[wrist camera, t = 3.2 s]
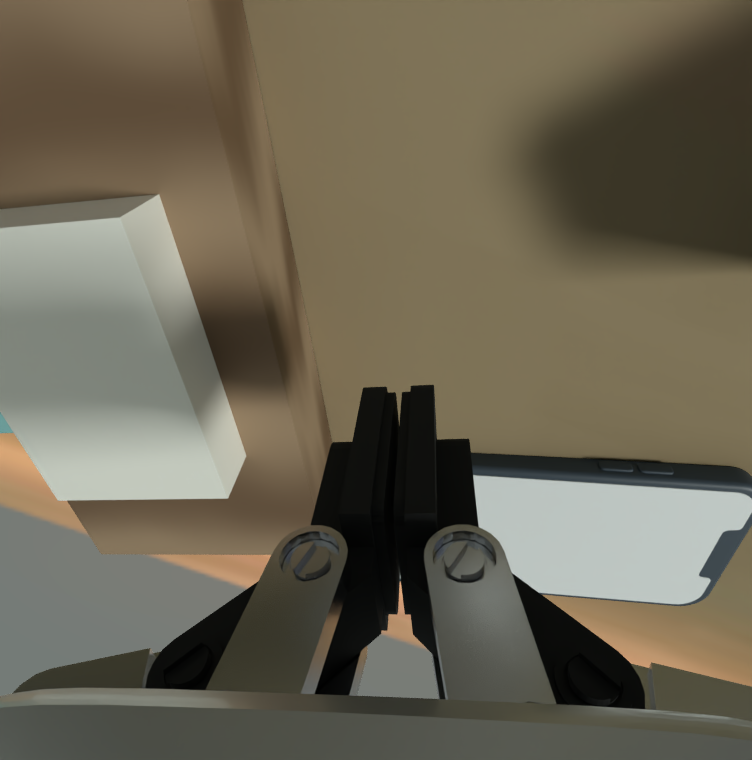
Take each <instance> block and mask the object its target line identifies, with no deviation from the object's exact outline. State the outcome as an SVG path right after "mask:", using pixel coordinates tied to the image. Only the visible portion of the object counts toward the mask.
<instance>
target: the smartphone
mask: <svg viewBox="0 0 752 760" xmlns="http://www.w3.org/2000/svg"><path fill="white" fill-rule="evenodd" d="M471 460H472V470H473V479H474V488H475V498H476V507H477V516H478V525H479V527H480V528H482V529H484V530H486V531H487V532H489V533H491V534H492V535H493V536H494V537H495V538H496V539H497V540H498V541H499V542H500V544H501V546H502V548H503V550H504V552H505V555H506V558H507V561H508V563H509V566H510V569H511V572H512V573H513V574H514V575H516V576H517V577H518V578H520V579H521V580H522V581H524V582H525V583H526V584H528V585H529V586H530V587H532V588H533V589H534V590H536V591H537V592H538V593H540V594H543V595H555V596H566V597H578V598H590V599H601V600H613V601H625V602H637V603H648V604H660V605H672V606H686V605H691V604H695V603H697V602H700V601H701V600H703V599H705V598H706V597H707V596H708V595H709V594H710V592H711V591H712V589H713V587H714V586H715V584H716V582H717V581H718V579H719V578H720V576H721V574H722V573H723V571H724V569H725V568H726V566H727V565H728V563H729V561H730V560H731V558H732V556H733V555H734V553H735V552H736V550H737V548H738V547H739V545H740V543H741V542H742V540H743V538H744V537H745V535H746V534H747V532H748V530H749V529H750V527H751V525H752V477H751V476H750V475H749V474H748V473H747V472H746V471H744V470H742V469H739V468H736V467H728V466H711V465H694V464H676V463H657V462H638V461H619V460H600V459H581V458H562V457H542V456H522V455H502V454H481V453H471ZM400 581H401V577H400Z"/></svg>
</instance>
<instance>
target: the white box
mask: <svg viewBox="0 0 752 760" xmlns="http://www.w3.org/2000/svg"><path fill="white" fill-rule="evenodd" d="M0 412H1V414H2V415H3V417H4V418H5V420H6V422H7V423H8V425H9V426H10V428H11V429H12V431H13V432H14V434H15V435H16V437H17V438H18V440H19V441H20V443H21V445H22V446H23V448H24V449H25V451H26V452H27V454H28V455H29V457H30V458H31V460H32V461H33V463H34V464H35V466H36V467H37V469H38V471H39V472H40V474H41V475H42V477H43V478H44V480H45V481H46V483H47V484H48V486H49V487H50V489H51V490H52V492H53V494H54V495H55V497H56V498H57V500H58V501H67V500H152V499H228V498H229V495H230V493H231V491H232V488H233V486H234V484H235V481H236V479H237V477H238V474H239V472H240V470H241V467H242V465H243V463H244V460H245V458H246V453H245V450H244V447H243V444H242V441H241V438H240V435H239V432H238V429H237V426H236V423H235V420H234V417H233V414H232V411H231V408H230V405H229V402H228V399H227V396H226V393H225V390H224V387H223V384H222V381H221V378H220V375H219V372H218V369H217V366H216V363H215V360H214V357H213V354H212V351H211V348H210V345H209V342H208V339H207V336H206V333H205V330H204V327H203V324H202V321H201V318H200V315H199V312H198V309H197V306H196V303H195V300H194V297H193V294H192V291H191V288H190V285H189V282H188V279H187V276H186V273H185V270H184V267H183V264H182V261H181V259H180V256H179V253H178V250H177V247H176V244H175V241H174V238H173V235H172V232H171V229H170V226H169V223H168V220H167V217H166V214H165V211H164V208H163V205H162V202H161V199H160V196H159V194H155V195H145V196H134V197H124V198H113V199H103V200H92V201H81V202H71V203H60V204H50V205H39V206H29V207H18V208H8V209H0Z"/></svg>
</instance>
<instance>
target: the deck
mask: <svg viewBox="0 0 752 760" xmlns="http://www.w3.org/2000/svg"><path fill="white" fill-rule="evenodd" d="M155 194H159V196H160V199H161V202H162V205H163V208H164V211H165V214H166V217H167V220H168V223H169V226H170V229H171V232H172V235H173V238H174V241H175V244H176V247H177V250H178V253H179V256H180V259H181V261H182V264H183V267H184V270H185V273H186V276H187V279H188V282H189V285H190V288H191V291H192V294H193V297H194V300H195V303H196V306H197V309H198V312H199V315H200V318H201V321H202V324H203V327H204V330H205V333H206V336H207V339H208V342H209V345H210V348H211V351H212V354H213V357H214V360H215V363H216V366H217V369H218V372H219V375H220V378H221V381H222V384H223V387H224V390H225V393H226V396H227V399H228V402H229V405H230V408H231V411H232V414H233V417H234V420H235V423H236V426H237V429H238V432H239V435H240V438H241V441H242V444H243V447H244V450H245V453H246V458H245V460H244V463H243V465H242V467H241V470H240V472H239V474H238V477H237V479H236V481H235V484H234V486H233V488H232V491H231V493H230V495H229V498H228V499H152V500H67V501H68V503H69V504H70V506H71V508H72V509H73V511H74V512H75V514H76V515H77V517H78V518H79V520H80V522H81V523H82V525H83V526H84V528H85V529H86V531H87V533H88V534H89V536H90V537H91V539H92V540H93V542H94V543H95V545H96V547H97V548H98V550H99V551H100V553H101V554H212V555H272V553H273V551H274V549H275V548H276V546H277V545H278V544H279V542H280V541H281V540H282V539H283V538H284V537H286V536H287V535H288V534H289V533H291V532H293V531H295V530H297V529H299V528H302V527H306V526H310V525H311V521H312V517H313V513H314V509H315V505H316V501H317V497H318V493H319V489H320V485H321V481H322V477H323V473H324V469H325V465H326V461H327V457H328V453H329V449H330V446H331V444H332V440H331V435H330V430H329V425H328V420H327V415H326V410H325V405H324V400H323V396H322V391H321V386H320V381H319V376H318V371H317V366H316V361H315V356H314V351H313V346H312V342H311V337H310V332H309V327H308V322H307V317H306V312H305V307H304V302H303V297H302V292H301V288H300V283H299V278H298V273H297V268H296V263H295V258H294V253H293V248H292V243H291V238H290V233H289V229H288V224H287V219H286V214H285V209H284V204H283V199H282V194H281V189H280V184H279V179H278V175H277V170H276V165H275V160H274V155H273V150H272V145H271V140H270V135H269V130H268V125H267V120H266V116H265V111H264V106H263V101H262V96H261V91H260V86H259V81H258V76H257V71H256V66H255V62H254V57H253V52H252V47H251V42H250V37H249V32H248V27H247V22H246V17H245V12H244V8H243V3H242V0H0V209H8V208H18V207H29V206H39V205H50V204H60V203H71V202H81V201H92V200H103V199H113V198H124V197H134V196H145V195H155Z"/></svg>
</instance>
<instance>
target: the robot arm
mask: <svg viewBox="0 0 752 760" xmlns="http://www.w3.org/2000/svg"><path fill="white" fill-rule="evenodd" d="M400 577H401V585H402V593H403V602H404V610H405V614H411V620H412V629H413V635H414V636H415V637H416V638H417V639H418V640H419V641H420V642H421V643H422V644H423V645H424V646H425V647H426V648H427V649H428V650H429V651H430V652H431V653H432V662H433V668H434V675H435V681H436V687H437V694H438V699H423V698H421V699H420V698H398V697H397V698H396V697H372V696H357V694H358V690H359V686H360V682H361V678H362V674H363V670H364V666H365V662H366V658H367V645H368V644H370V643H371V642H372V641H373V640H374V639H375V638H376V637H378V636H379V635H380V634H381V630H387V628H388V614H397V613H398V601H399V583H400ZM0 760H752V687H750V686H746V685H742V684H738V683H734V682H729V681H725V680H721V679H717V678H713V677H709V676H705V675H701V674H697V673H692V672H688V671H684V670H680V669H676V668H672V667H668V666H664V665H659V664H655V663H651V664H650V667H649V668H646V667H642V666H638V665H634V664H630V662H629V661H628V660H626V659H625V658H624V657H623V656H622V655H621V654H620V653H619V652H618V651H617V650H615V649H614V648H613V647H611V646H610V645H609V644H607V643H606V642H605V641H603V640H602V639H601V638H599V637H598V636H596V635H595V634H594V633H592V632H591V631H590V630H588V629H587V628H586V627H584V626H583V625H582V624H580V623H579V622H578V621H576V620H575V619H574V618H572V617H571V616H569V615H568V614H567V613H565V612H564V611H563V610H561V609H560V608H559V607H557V606H556V605H555V604H553V603H552V602H551V601H549V600H548V599H547V598H545V597H544V596H543V595H541V594H540V593H538V592H537V591H536V590H534V589H533V588H532V587H530V586H529V585H528V584H526V583H525V582H524V581H522V580H521V579H520V578H518V577H517V576H516V575H514V574H513V573H512V572H511V569H510V566H509V563H508V561H507V558H506V555H505V552H504V550H503V548H502V546H501V544H500V542H499V541H498V540H497V539H496V538H495V537H494V536H493V535H492V534H491V533H489V532H487V531H486V530H484V529H482V528H480V527H479V525H478V516H477V507H476V498H475V488H474V479H473V470H472V460H471V451H470V442H469V439H444V440H437V434H436V415H435V396H434V385H419V386H411V392H402V400H401V413H400V426H399V420H398V410H397V400H396V393H395V392H394V393H388V392H387V387H369V388H363V391H362V396H361V401H360V406H359V411H358V416H357V421H356V427H355V432H354V437H353V442H333V443H332V444H331V446H330V449H329V453H328V457H327V461H326V465H325V469H324V473H323V477H322V481H321V485H320V489H319V493H318V497H317V501H316V505H315V509H314V513H313V517H312V521H311V525H310V526H306V527H302V528H299V529H297V530H295V531H293V532H291V533H289V534H288V535H287V536H286V537H284V538H283V539H282V540H281V541H280V542H279V544H278V545H277V546H276V548H275V549H274V551H273V553H272V555H271V557H270V559H269V561H268V563H267V565H266V567H265V569H264V571H263V573H262V576H261V578H260V580H259V581H258V582H257V583H255V584H254V585H252V586H251V587H250V588H248V589H247V590H245V591H244V592H242V593H241V594H239V595H238V596H237V597H235V598H234V599H232V600H231V601H229V602H228V603H226V604H225V605H224V606H222V607H221V608H219V609H218V610H216V611H215V612H214V613H212V614H211V615H209V616H208V617H206V618H205V619H203V620H202V621H200V622H199V623H198V624H196V625H195V626H193V627H192V628H190V629H189V630H187V631H186V632H185V633H183V634H182V635H180V636H179V637H177V638H176V639H174V640H173V641H172V642H171V643H170V644H169V645H167V646H166V647H165V648H164V649H163V650H162V651H161V652H157V653H153V652H152V650H151V648H149V649H144V650H139V651H134V652H130V653H124V654H120V655H115V656H110V657H105V658H100V659H95V660H91V661H86V662H81V663H76V664H72V665H67V666H62V667H57V668H52V669H49V670H46V671H43V672H41V673H38V674H36V675H34V676H33V677H31V678H30V679H28V680H27V681H25V682H24V683H22V684H21V685H20V686H19V687H18V688H17V689H16V690H15V691H14V692H13V693H12V694H8V695H3V696H0Z"/></svg>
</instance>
